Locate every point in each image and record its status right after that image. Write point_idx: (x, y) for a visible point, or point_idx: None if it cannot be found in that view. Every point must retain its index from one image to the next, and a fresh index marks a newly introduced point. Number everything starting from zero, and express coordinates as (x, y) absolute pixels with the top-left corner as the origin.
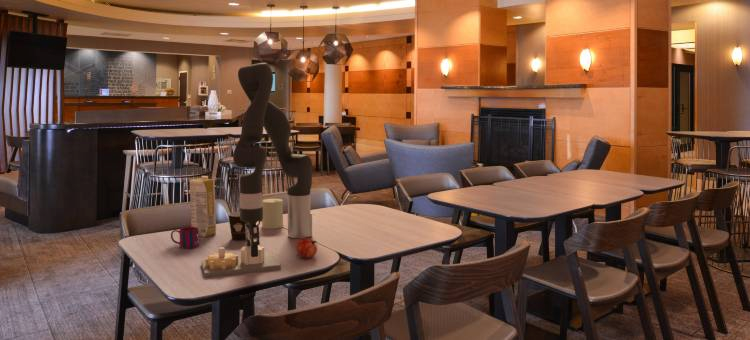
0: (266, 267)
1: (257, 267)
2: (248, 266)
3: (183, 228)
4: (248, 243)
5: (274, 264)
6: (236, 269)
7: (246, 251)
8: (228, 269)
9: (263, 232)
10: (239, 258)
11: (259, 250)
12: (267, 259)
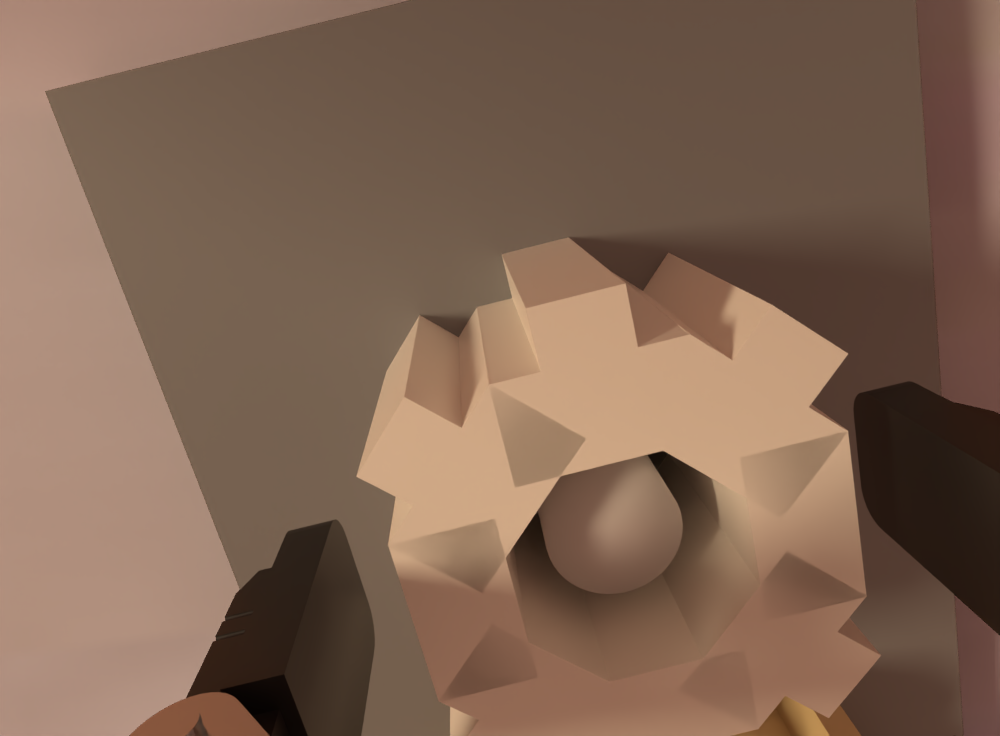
0: (912, 176)
1: (933, 333)
2: (855, 480)
3: None
4: (351, 722)
5: (854, 19)
6: (954, 630)
7: (870, 665)
8: (919, 729)
9: None
10: (381, 662)
11: (814, 386)
12: (497, 181)
